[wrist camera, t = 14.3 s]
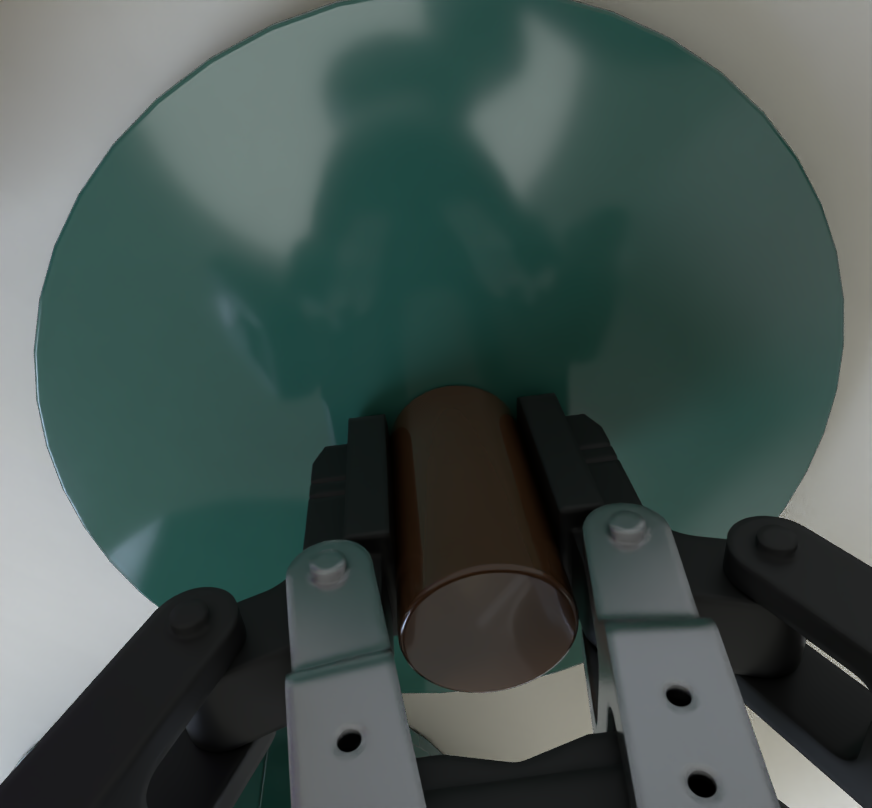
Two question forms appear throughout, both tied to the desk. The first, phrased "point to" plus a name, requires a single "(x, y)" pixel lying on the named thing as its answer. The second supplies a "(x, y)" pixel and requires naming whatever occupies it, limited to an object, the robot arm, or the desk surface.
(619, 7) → the desk surface
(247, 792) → the pot
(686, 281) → the lid
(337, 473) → the robot arm
